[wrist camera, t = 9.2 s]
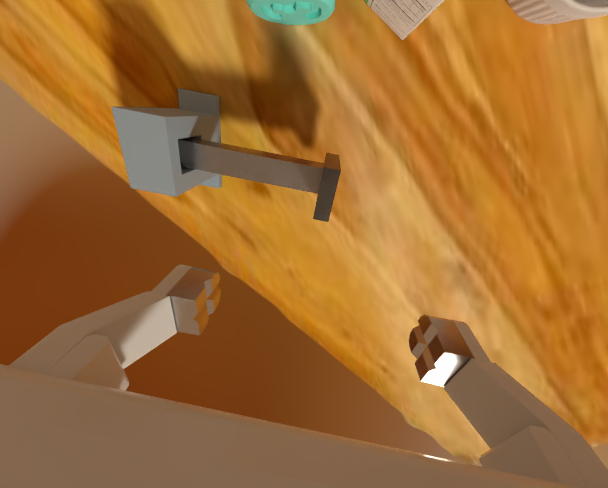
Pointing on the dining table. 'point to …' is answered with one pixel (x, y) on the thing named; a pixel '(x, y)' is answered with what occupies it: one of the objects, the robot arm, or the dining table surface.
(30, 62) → the dining table surface
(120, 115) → the bearing block
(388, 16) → the syrup box
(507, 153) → the dining table surface
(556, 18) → the ramekin
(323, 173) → the shaft
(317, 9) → the decorative dice
